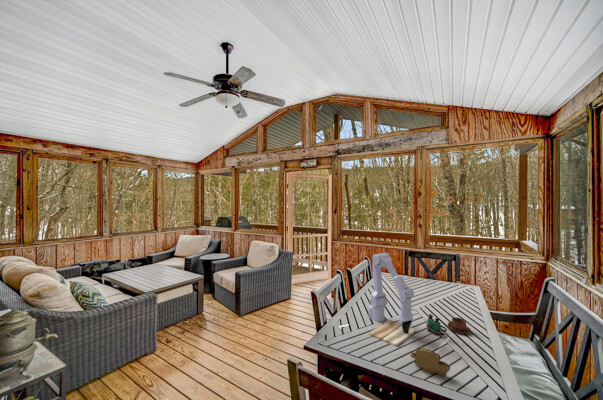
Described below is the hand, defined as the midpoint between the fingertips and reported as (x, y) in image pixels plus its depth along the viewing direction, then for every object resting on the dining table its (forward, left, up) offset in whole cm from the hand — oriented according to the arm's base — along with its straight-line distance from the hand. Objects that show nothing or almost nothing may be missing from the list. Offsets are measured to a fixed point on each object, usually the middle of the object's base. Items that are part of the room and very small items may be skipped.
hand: (405, 332), depth 149 cm
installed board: (-11, -4, -2) cm, 11 cm away
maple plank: (-2, -4, -2) cm, 5 cm away
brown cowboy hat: (+19, +31, -2) cm, 36 cm away
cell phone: (-25, -19, -3) cm, 31 cm away
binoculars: (+11, +16, -2) cm, 20 cm away
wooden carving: (+21, -22, -2) cm, 30 cm away
